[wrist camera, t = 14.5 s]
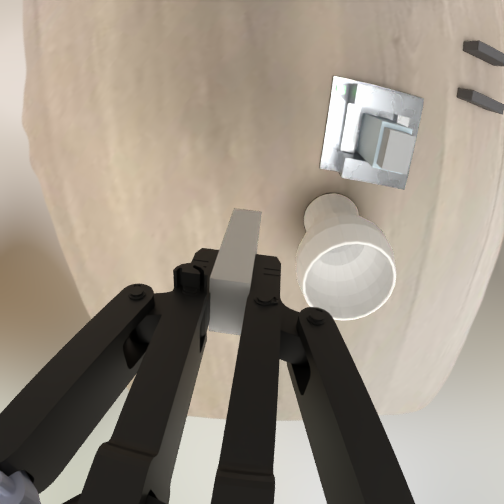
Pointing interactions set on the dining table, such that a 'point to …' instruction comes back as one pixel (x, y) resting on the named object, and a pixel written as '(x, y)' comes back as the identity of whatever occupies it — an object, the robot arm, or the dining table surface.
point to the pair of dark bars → (491, 57)
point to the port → (349, 123)
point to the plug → (385, 144)
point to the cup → (343, 260)
